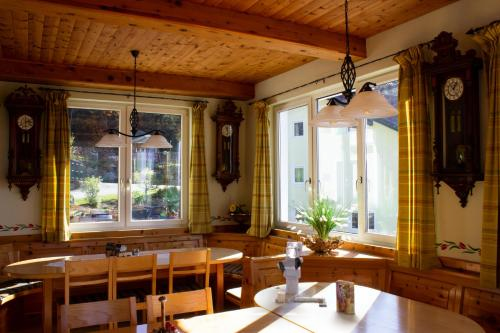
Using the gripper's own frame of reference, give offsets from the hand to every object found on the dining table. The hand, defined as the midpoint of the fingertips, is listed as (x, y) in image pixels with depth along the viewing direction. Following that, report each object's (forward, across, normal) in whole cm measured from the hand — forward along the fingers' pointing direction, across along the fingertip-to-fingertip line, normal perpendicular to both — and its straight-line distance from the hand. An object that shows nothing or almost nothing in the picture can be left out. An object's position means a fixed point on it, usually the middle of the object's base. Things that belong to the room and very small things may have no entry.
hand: (289, 270), depth 232 cm
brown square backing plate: (+3, -10, +16) cm, 19 cm away
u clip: (+3, -9, +15) cm, 18 cm away
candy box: (+14, +24, +23) cm, 36 cm away
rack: (+2, +4, +21) cm, 21 cm away
